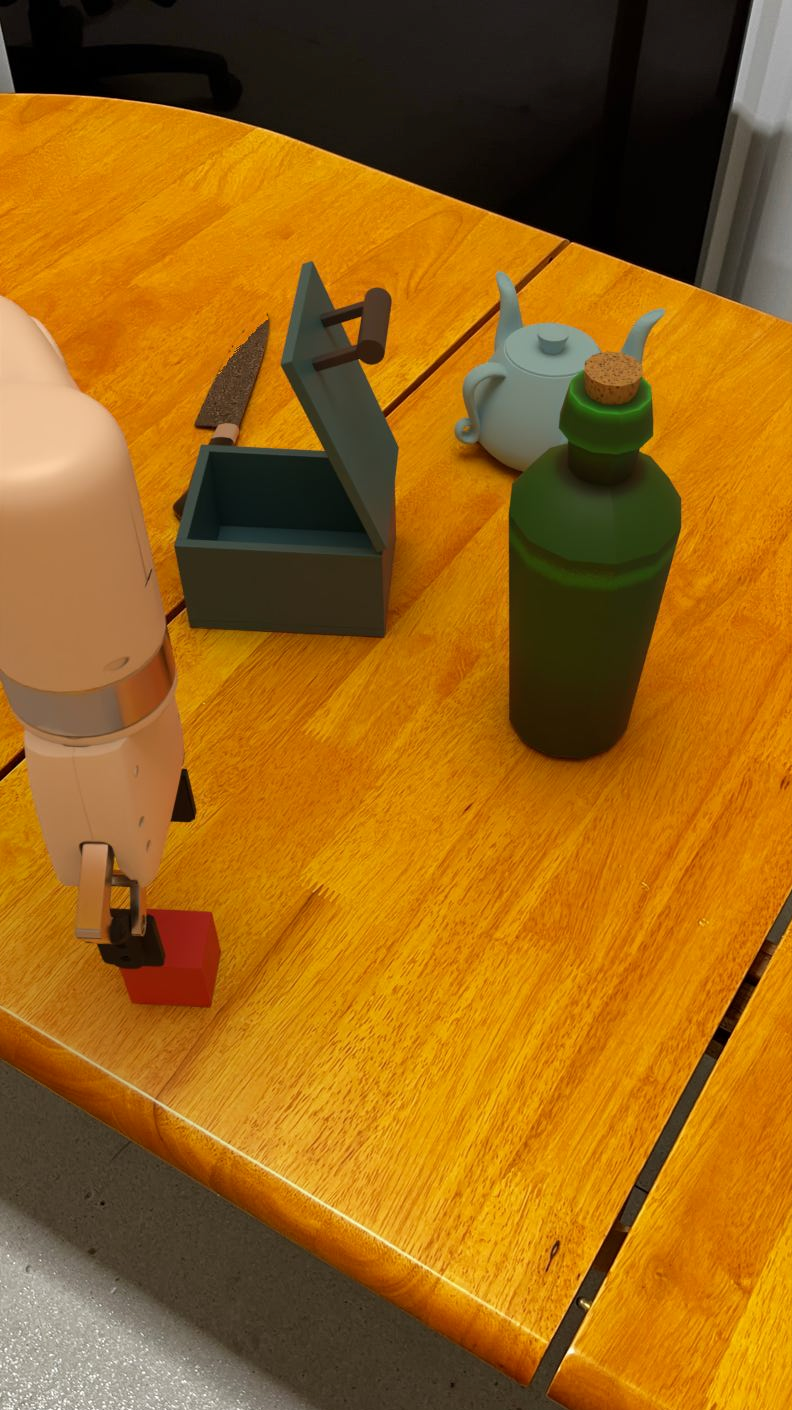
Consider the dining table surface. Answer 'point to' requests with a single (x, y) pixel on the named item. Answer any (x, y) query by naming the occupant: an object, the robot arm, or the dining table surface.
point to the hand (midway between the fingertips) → (152, 886)
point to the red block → (179, 961)
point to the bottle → (588, 564)
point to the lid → (345, 394)
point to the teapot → (530, 381)
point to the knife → (230, 396)
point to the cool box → (279, 546)
